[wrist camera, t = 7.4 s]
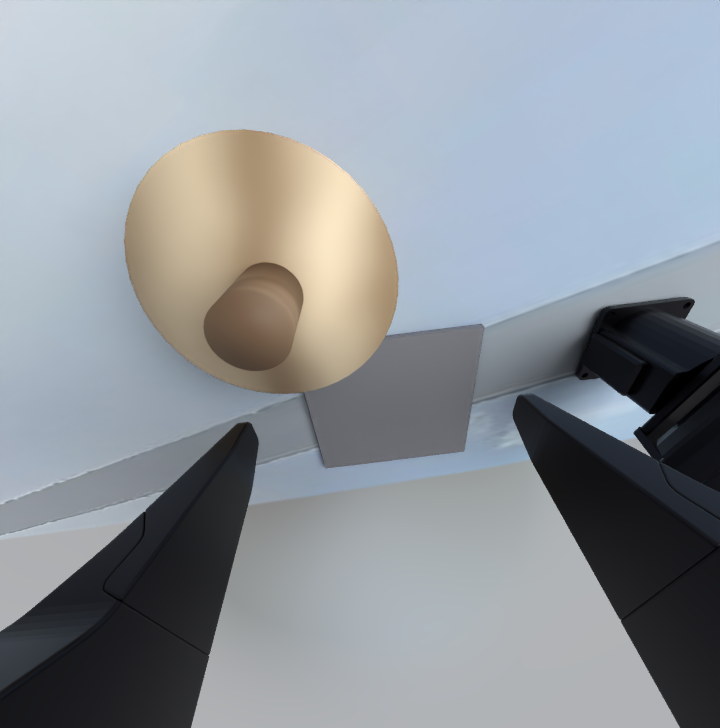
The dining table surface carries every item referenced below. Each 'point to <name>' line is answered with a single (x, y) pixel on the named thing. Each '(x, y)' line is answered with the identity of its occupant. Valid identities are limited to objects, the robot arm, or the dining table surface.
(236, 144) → the oak lid
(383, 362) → the rubber mat
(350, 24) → the dining table surface
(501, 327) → the dining table surface
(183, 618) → the robot arm
